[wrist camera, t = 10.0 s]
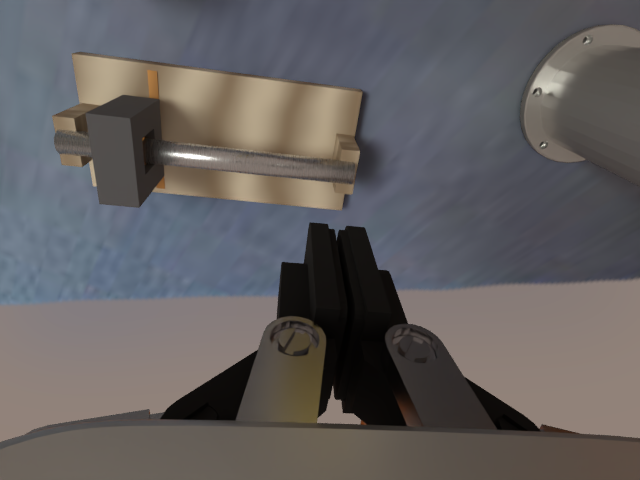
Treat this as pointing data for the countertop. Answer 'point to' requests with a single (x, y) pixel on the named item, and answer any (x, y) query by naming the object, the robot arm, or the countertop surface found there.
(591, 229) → the countertop surface
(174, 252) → the countertop surface
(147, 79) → the pipe stand
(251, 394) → the robot arm
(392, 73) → the countertop surface
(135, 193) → the collar
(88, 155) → the pipe
